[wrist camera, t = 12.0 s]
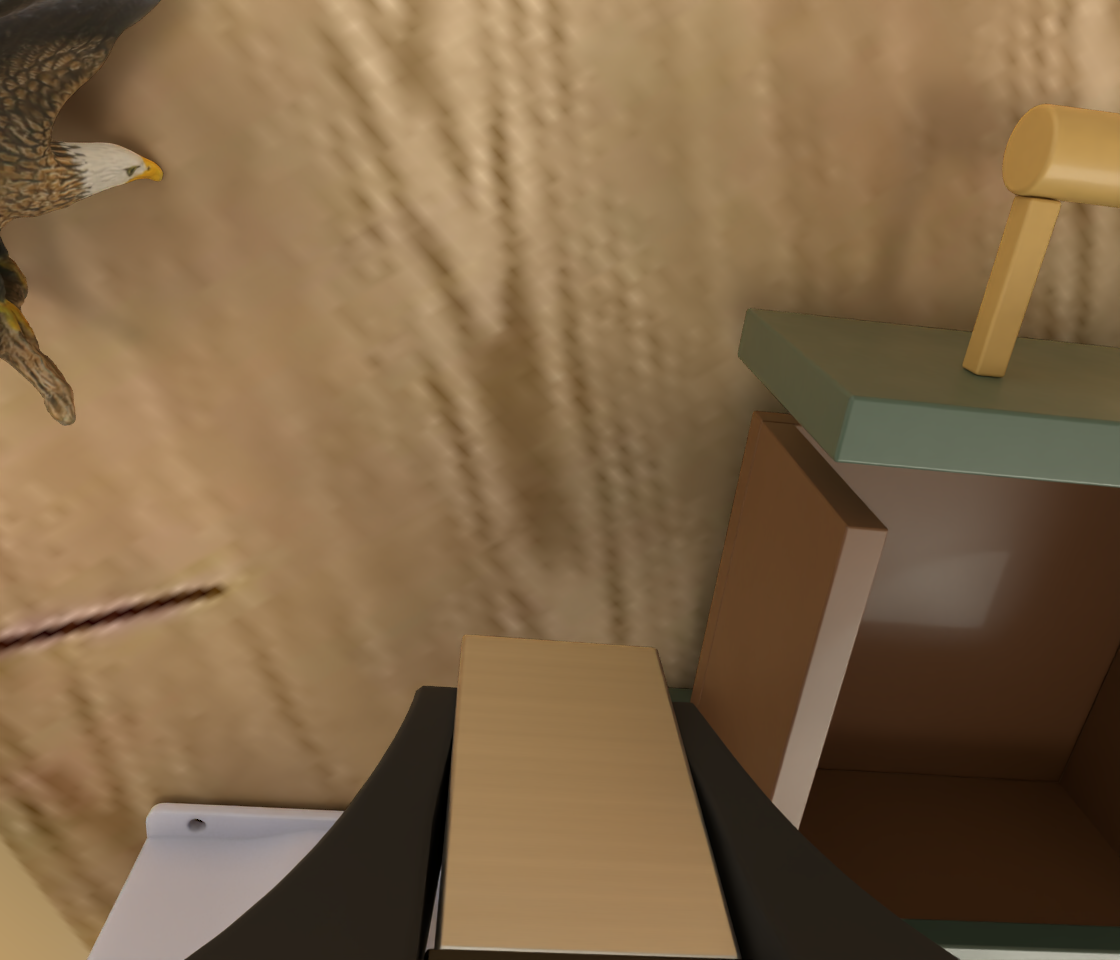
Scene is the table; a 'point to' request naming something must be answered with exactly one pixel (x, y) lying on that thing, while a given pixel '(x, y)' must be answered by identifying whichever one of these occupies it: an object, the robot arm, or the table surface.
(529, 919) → the metal-capped square post
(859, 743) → the drawer
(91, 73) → the eagle figurine
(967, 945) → the cabinet
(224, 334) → the table surface
